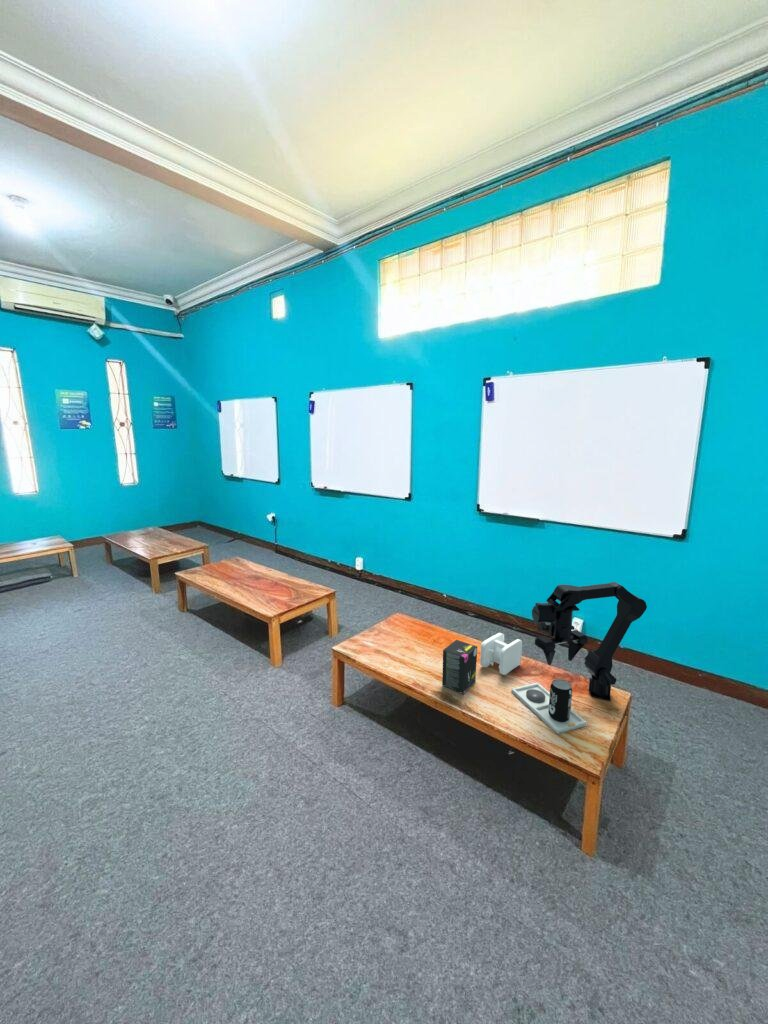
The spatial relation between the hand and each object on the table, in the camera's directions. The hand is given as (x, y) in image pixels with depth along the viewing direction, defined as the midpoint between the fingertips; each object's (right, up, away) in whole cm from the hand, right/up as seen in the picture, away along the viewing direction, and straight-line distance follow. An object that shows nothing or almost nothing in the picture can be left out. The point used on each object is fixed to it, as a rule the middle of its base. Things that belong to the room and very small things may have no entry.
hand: (559, 662), depth 142 cm
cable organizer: (-15, -10, +21) cm, 28 cm away
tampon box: (-34, -12, +10) cm, 37 cm away
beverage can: (-5, -15, -10) cm, 18 cm away
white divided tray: (-7, -14, -5) cm, 16 cm away
